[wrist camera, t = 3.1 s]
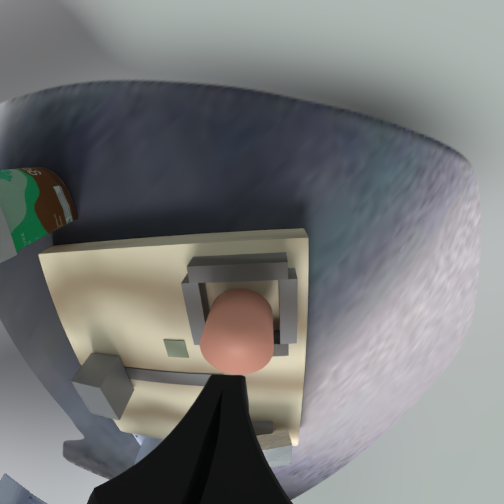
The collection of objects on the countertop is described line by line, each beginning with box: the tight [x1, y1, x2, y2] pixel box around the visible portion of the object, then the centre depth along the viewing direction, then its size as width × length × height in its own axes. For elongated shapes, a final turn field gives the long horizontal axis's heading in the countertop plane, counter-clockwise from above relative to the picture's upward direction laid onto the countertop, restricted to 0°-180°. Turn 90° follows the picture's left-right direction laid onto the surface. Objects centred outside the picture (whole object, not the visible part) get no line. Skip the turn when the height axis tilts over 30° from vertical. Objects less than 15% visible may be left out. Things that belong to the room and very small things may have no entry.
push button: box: [200, 288, 274, 375], centre depth 14 cm, size 4×4×3 cm
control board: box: [38, 228, 309, 446], centre depth 20 cm, size 22×20×4 cm
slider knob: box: [71, 353, 134, 420], centre depth 18 cm, size 4×3×4 cm
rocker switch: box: [256, 431, 292, 467], centre depth 19 cm, size 4×6×2 cm, turn 94°
